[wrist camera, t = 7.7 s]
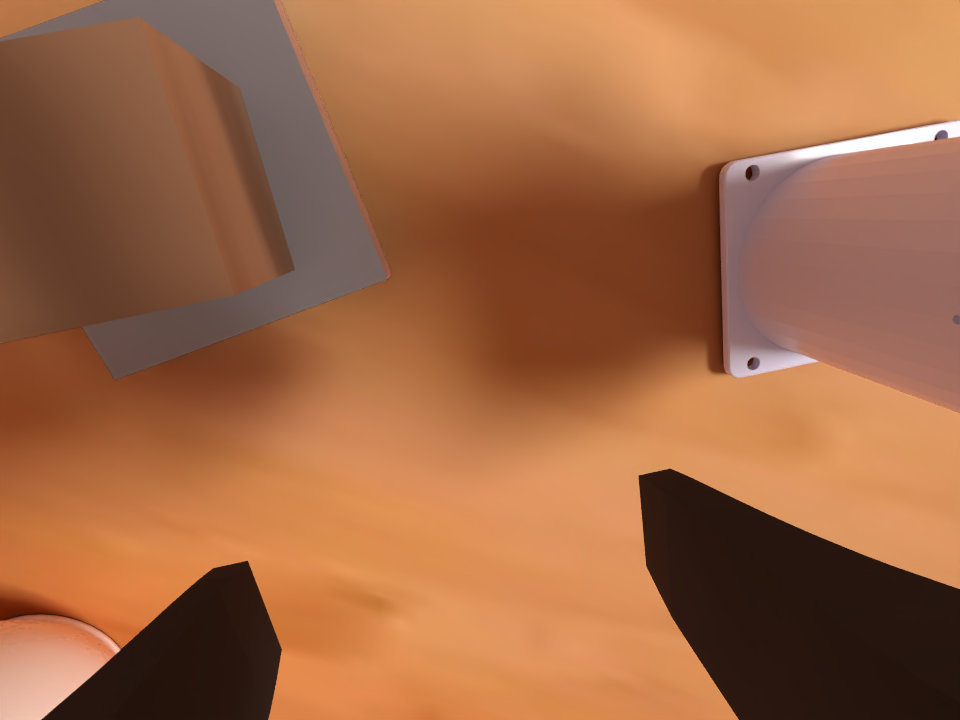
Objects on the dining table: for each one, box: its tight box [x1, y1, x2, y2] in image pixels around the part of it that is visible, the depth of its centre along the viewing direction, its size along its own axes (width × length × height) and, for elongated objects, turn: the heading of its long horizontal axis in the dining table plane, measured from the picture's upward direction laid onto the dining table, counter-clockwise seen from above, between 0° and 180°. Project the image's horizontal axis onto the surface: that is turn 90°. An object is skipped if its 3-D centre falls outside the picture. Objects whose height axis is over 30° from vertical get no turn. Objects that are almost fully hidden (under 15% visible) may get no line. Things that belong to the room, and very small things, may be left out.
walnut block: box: [0, 17, 295, 344], centre depth 12 cm, size 5×5×5 cm
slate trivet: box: [0, 0, 392, 380], centre depth 15 cm, size 9×9×2 cm
